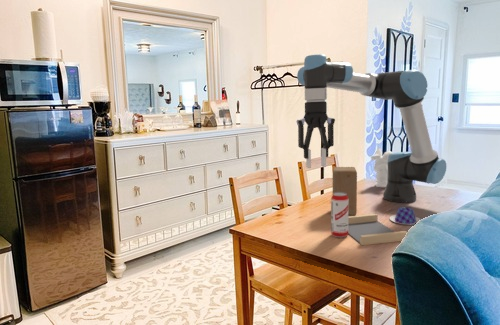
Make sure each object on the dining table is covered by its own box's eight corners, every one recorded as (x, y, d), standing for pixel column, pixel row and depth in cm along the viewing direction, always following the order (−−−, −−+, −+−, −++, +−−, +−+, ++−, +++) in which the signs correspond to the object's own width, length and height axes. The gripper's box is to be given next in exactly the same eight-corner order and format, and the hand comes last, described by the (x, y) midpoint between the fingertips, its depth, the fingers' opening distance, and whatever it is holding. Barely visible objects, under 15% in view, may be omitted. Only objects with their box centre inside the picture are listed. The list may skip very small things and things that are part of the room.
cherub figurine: (395, 187, 205) (397, 148, 201) (376, 189, 202) (377, 150, 198) (382, 182, 217) (383, 145, 213) (363, 184, 213) (364, 147, 209)
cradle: (375, 220, 152) (375, 213, 152) (406, 240, 131) (407, 232, 130) (336, 224, 149) (336, 217, 149) (362, 245, 128) (362, 237, 128)
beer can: (329, 232, 141) (328, 192, 138) (345, 231, 141) (345, 191, 139) (334, 238, 135) (334, 196, 132) (350, 237, 135) (351, 195, 133)
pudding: (423, 227, 144) (424, 214, 143) (390, 225, 147) (391, 212, 146) (419, 217, 155) (419, 205, 154) (388, 215, 159) (389, 204, 158)
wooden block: (356, 216, 159) (357, 170, 155) (332, 215, 161) (332, 170, 157) (354, 209, 168) (355, 166, 165) (332, 209, 170) (332, 166, 167)
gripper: (335, 100, 133) (335, 163, 137) (287, 102, 130) (289, 166, 134) (344, 100, 126) (344, 166, 130) (293, 102, 123) (295, 170, 127)
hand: (316, 166), depth 132 cm, fingers open, 5 cm apart
